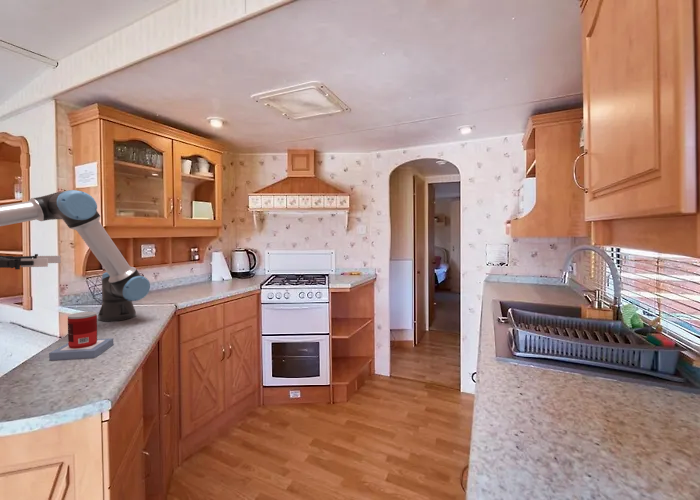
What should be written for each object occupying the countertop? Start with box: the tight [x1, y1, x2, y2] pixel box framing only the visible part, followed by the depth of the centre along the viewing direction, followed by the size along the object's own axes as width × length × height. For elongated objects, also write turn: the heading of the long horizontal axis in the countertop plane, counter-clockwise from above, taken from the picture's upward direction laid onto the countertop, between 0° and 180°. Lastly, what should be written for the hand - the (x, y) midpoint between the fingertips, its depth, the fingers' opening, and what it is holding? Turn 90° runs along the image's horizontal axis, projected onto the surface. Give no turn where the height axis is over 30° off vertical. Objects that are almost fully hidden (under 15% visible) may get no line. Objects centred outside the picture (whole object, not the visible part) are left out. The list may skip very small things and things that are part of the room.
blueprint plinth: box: [48, 337, 114, 361], centre depth 114 cm, size 13×13×3 cm
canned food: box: [67, 311, 98, 348], centre depth 114 cm, size 8×8×11 cm
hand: (54, 260), depth 115 cm, fingers open, 13 cm apart
